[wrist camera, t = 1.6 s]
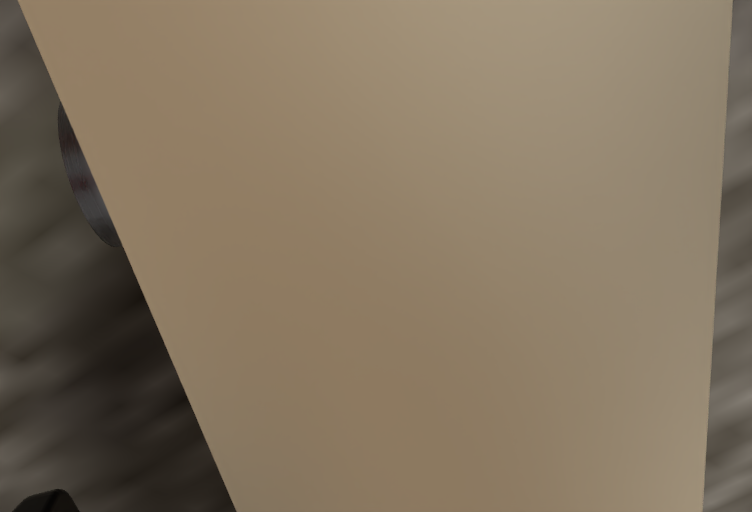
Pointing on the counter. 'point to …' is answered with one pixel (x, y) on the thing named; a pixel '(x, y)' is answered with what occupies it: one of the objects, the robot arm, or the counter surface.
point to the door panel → (415, 237)
